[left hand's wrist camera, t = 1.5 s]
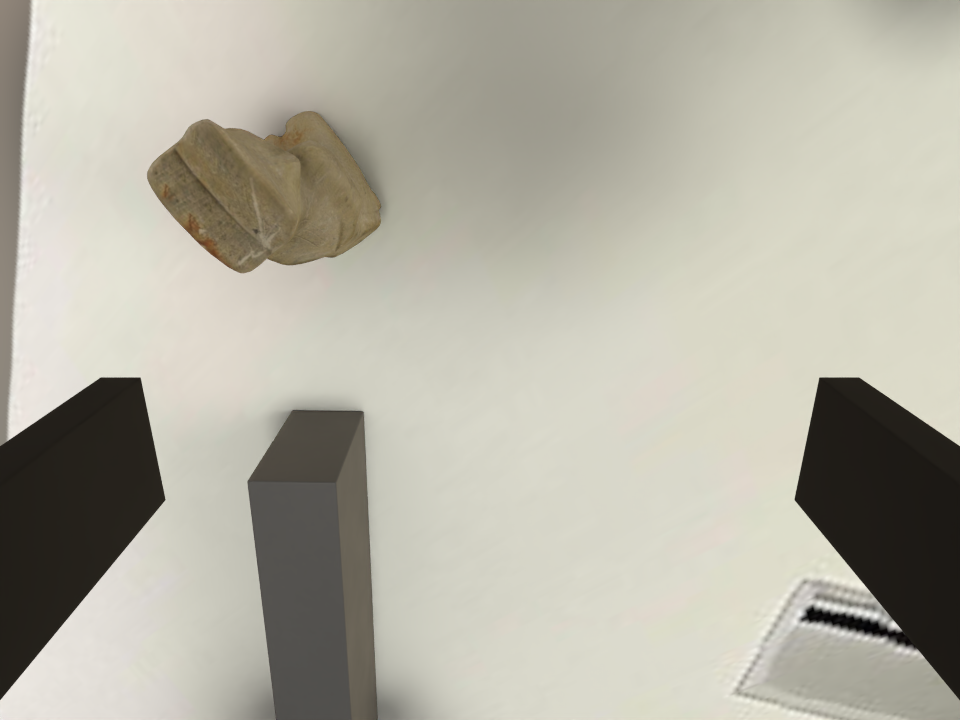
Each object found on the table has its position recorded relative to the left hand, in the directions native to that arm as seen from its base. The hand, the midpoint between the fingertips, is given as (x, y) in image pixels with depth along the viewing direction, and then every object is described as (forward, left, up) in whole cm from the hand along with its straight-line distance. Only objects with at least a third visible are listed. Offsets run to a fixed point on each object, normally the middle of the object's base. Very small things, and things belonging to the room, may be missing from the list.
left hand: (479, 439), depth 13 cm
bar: (+28, -2, -27) cm, 38 cm away
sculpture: (0, -9, -27) cm, 28 cm away
